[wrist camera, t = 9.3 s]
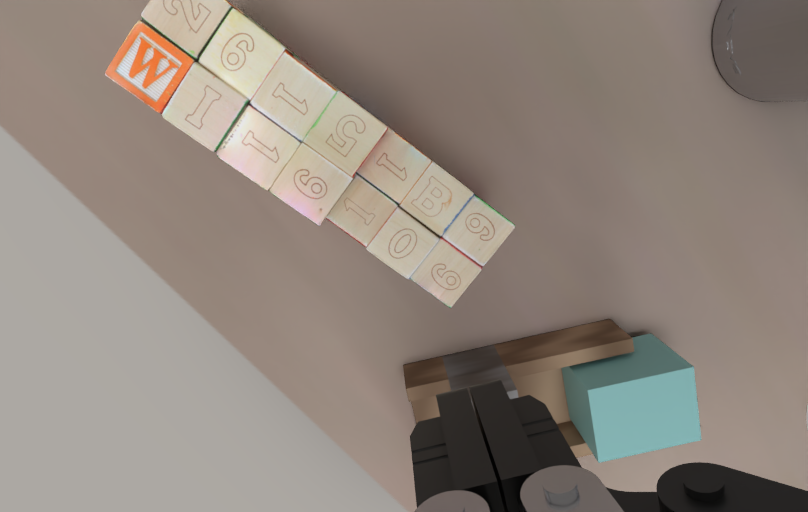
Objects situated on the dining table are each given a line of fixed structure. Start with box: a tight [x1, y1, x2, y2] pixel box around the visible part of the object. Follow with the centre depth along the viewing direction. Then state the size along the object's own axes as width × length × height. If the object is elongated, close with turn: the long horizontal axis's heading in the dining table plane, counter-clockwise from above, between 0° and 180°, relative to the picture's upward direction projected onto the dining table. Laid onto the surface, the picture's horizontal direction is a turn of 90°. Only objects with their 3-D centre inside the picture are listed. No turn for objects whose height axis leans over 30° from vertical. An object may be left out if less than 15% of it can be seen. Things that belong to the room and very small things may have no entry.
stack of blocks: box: [105, 0, 515, 308], centre depth 35 cm, size 21×6×12 cm, turn 52°
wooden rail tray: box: [403, 319, 634, 458], centre depth 42 cm, size 16×8×8 cm, turn 102°
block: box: [562, 333, 701, 463], centre depth 41 cm, size 7×5×6 cm
